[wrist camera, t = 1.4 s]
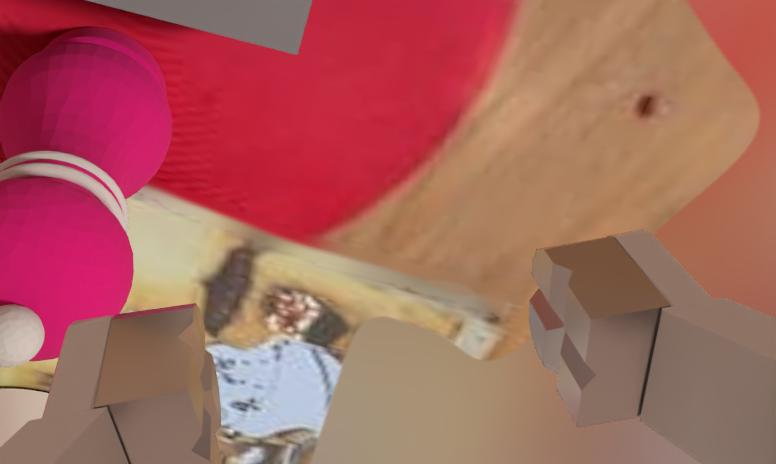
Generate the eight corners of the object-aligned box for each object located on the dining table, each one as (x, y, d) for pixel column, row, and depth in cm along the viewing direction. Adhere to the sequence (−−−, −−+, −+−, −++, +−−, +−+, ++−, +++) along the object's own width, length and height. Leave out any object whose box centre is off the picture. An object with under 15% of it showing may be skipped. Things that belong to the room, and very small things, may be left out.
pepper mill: (7, 123, 36) (-171, 420, 20) (45, -10, 33) (-127, 209, 17) (150, 170, 39) (98, 465, 23) (197, 52, 36) (176, 292, 20)
